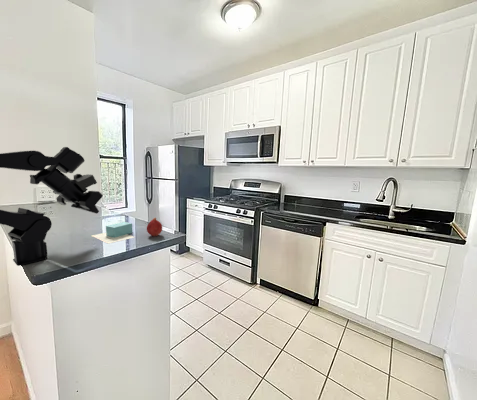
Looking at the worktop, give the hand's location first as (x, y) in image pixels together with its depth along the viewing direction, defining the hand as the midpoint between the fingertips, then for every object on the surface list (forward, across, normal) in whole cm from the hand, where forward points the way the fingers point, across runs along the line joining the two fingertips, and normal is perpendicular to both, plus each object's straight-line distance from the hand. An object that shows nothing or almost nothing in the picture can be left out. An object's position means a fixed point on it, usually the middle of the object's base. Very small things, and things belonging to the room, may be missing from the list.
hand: (97, 212), depth 82 cm
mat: (+11, 0, +4) cm, 12 cm away
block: (+9, 0, +3) cm, 9 cm away
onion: (+18, -14, -2) cm, 22 cm away
